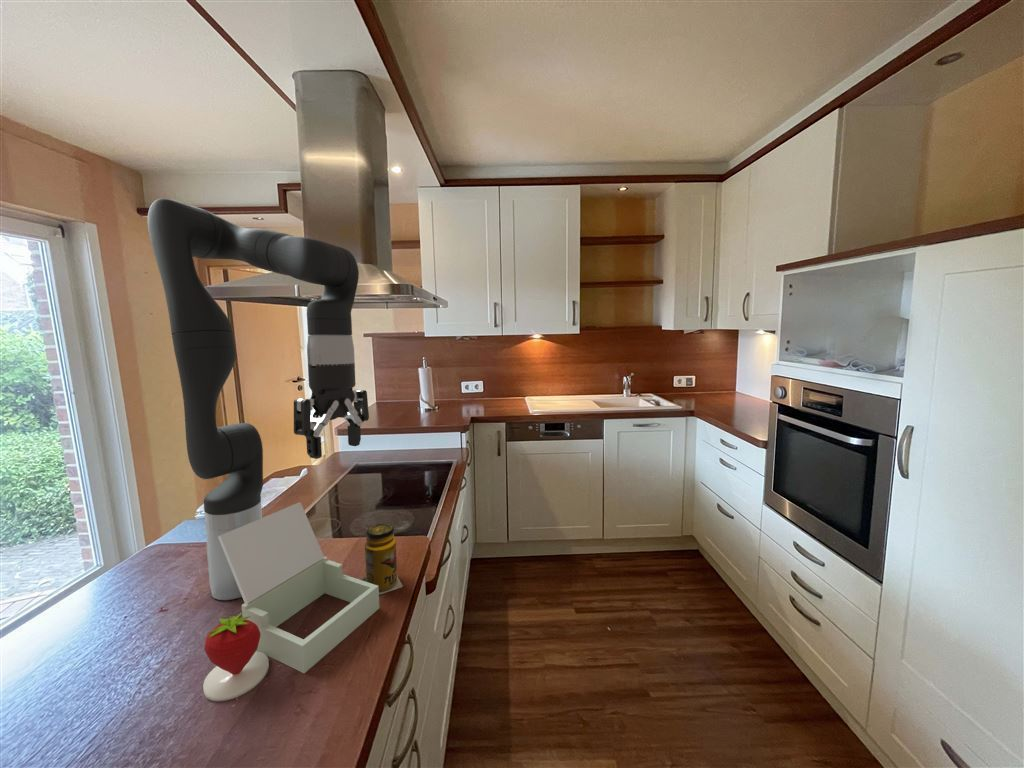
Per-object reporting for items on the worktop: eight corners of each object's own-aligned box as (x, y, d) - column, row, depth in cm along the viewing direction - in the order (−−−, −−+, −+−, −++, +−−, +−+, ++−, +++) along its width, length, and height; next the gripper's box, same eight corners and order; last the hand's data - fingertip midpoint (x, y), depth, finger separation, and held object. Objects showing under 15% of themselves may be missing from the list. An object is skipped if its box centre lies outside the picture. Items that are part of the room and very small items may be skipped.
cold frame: (222, 633, 68) (214, 535, 66) (304, 581, 82) (300, 500, 80) (304, 673, 60) (297, 563, 58) (379, 608, 74) (376, 518, 72)
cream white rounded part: (191, 688, 57) (190, 683, 57) (247, 649, 64) (247, 644, 64) (225, 709, 54) (225, 704, 54) (280, 666, 61) (280, 661, 61)
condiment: (403, 587, 81) (401, 531, 80) (360, 602, 76) (357, 542, 75) (392, 569, 87) (391, 517, 86) (351, 582, 82) (349, 527, 81)
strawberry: (240, 695, 55) (234, 628, 54) (195, 687, 57) (189, 621, 56) (273, 662, 61) (268, 600, 60) (232, 655, 62) (226, 595, 61)
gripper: (347, 359, 77) (350, 440, 79) (278, 362, 64) (284, 459, 66) (377, 360, 74) (380, 444, 76) (311, 364, 61) (316, 465, 63)
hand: (335, 451), depth 71 cm, fingers open, 8 cm apart
